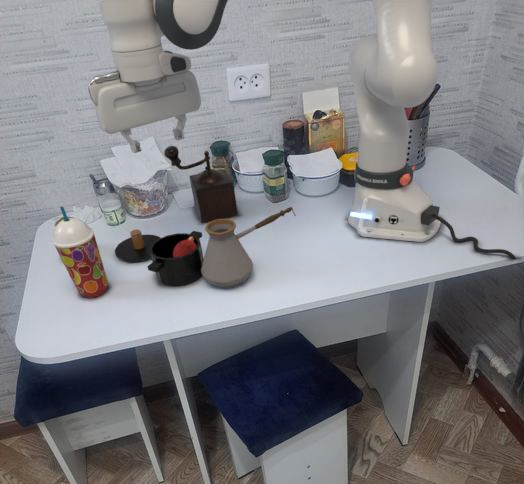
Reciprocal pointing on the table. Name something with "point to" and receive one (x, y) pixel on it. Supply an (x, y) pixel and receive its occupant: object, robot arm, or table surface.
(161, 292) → the table surface
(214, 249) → the coffee pot
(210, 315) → the table surface
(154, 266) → the pot
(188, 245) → the red rounded piece
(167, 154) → the coffee grinder
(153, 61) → the robot arm
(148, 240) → the pot lid
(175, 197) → the table surface
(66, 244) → the smoothie
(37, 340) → the table surface
